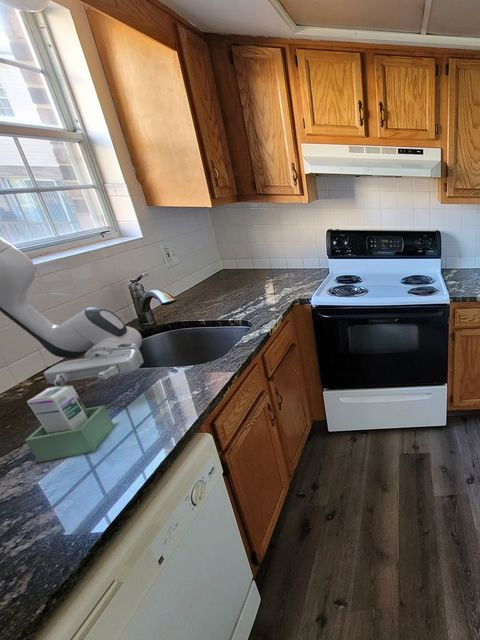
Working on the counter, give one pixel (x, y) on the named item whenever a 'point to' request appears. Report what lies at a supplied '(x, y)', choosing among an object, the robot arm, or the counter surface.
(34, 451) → the green open square box
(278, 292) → the counter surface
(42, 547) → the counter surface
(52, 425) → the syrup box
